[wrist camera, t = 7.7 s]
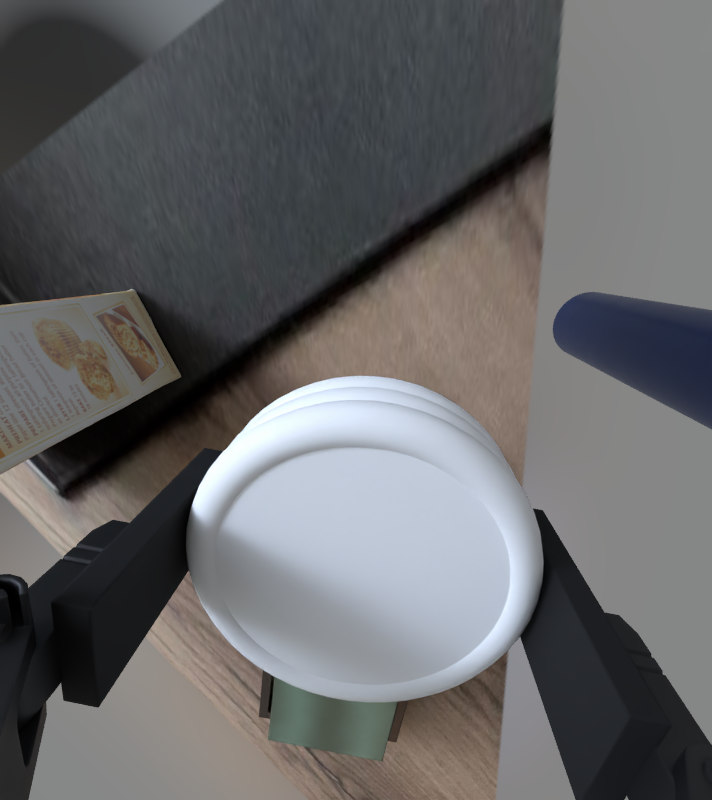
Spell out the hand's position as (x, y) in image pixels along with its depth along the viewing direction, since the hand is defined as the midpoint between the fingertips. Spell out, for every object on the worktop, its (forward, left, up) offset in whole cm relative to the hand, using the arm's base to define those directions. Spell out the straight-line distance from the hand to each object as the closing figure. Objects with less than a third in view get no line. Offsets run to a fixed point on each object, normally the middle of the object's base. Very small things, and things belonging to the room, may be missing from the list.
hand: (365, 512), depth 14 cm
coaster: (0, 0, 0) cm, 0 cm away
